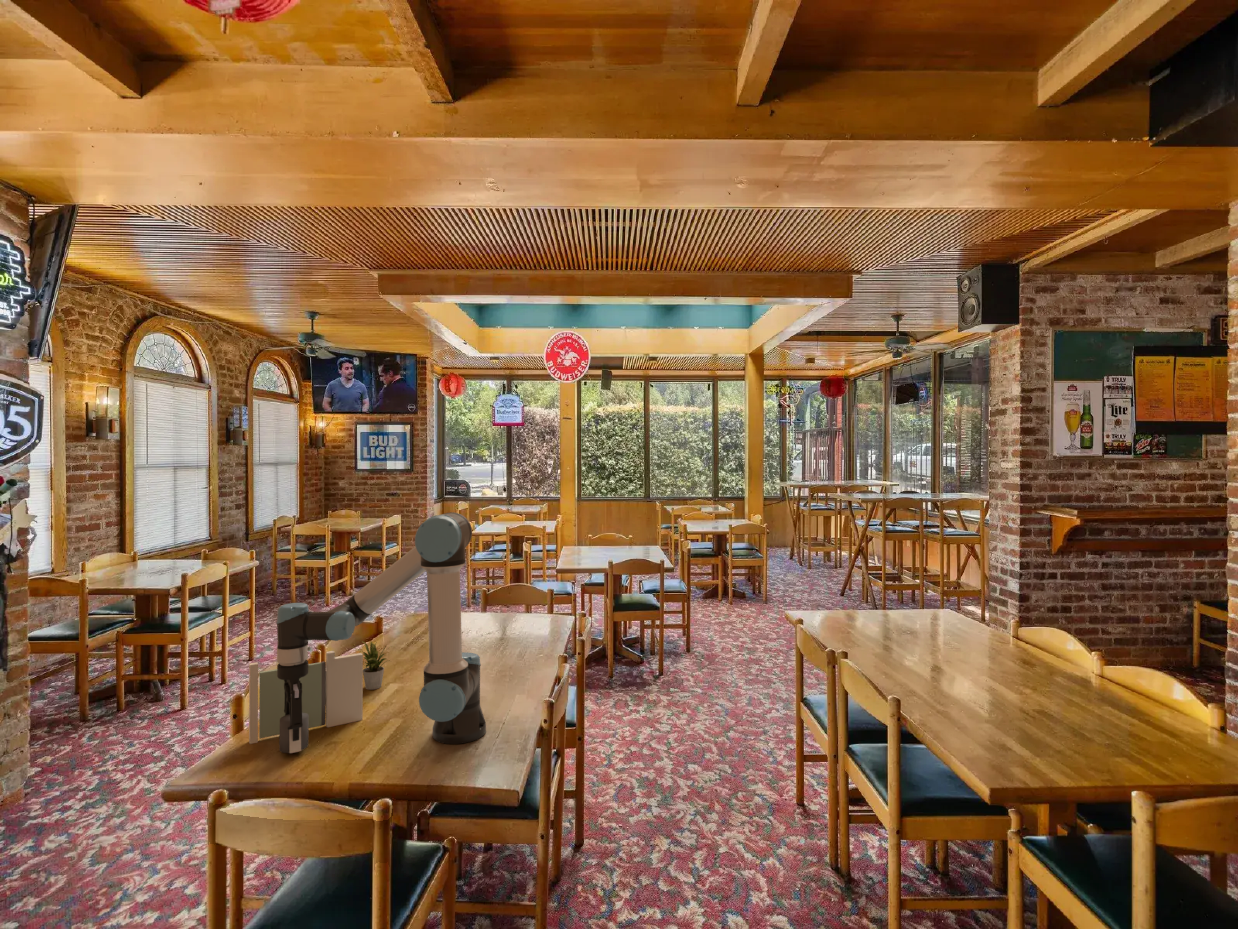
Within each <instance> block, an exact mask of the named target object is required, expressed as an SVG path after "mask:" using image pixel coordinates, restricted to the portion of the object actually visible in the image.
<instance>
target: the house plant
mask: <svg viewBox="0 0 1238 929" xmlns="http://www.w3.org/2000/svg"><path fill="white" fill-rule="evenodd" d="M361 642H362V643H363V644H364V646H365V649H366V651H367V652H366V651H363V650H359V652H358V653H362V654H363V656H364V657H363V659H364V660H366V661H364V662H363V663H364V664H363V667H365V668H364V669H363V681H364V685H365V686H364V687H365V690H369V691H370V690H371V691H372V690H373V691H374V690H377V689H380V688H381V687H382V684H383V678H384V673H385V667H384V666H383V665H384V664H385V663H386V662H391V659H390V660H387V658H382V657H384V656H385V653H384V652H385V651H384V650H385V649H386V647H387V645H388V644H386V645H385V647H384V648H383V650H382V651H381V652H380V654H379V650H377V647H376V645H377V642H376V643H373V641H370V644H369V646H368V644H367V643H366V642H365V641H362V640H361ZM392 647H393V645H392V646H390V647H388V649H389V648H392ZM351 648H352V649H353V648H354V649H355V647H352V646H351V647H350V649H351ZM385 660H386V661H385ZM383 661H385V662H383Z"/></svg>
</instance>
